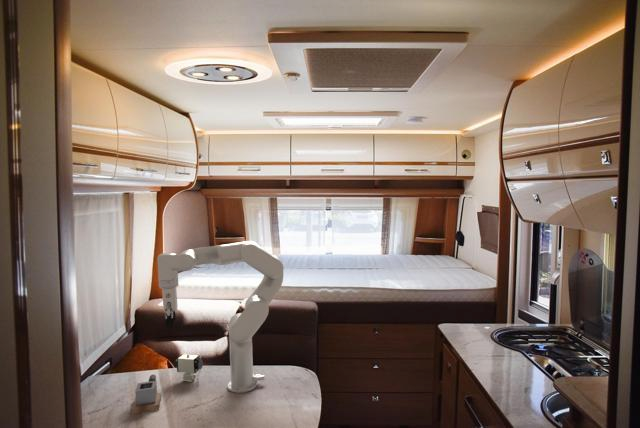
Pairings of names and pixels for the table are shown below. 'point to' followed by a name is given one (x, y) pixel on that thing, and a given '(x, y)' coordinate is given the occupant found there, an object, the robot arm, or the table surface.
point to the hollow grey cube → (146, 393)
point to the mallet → (150, 406)
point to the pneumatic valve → (188, 365)
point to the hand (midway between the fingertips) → (170, 323)
